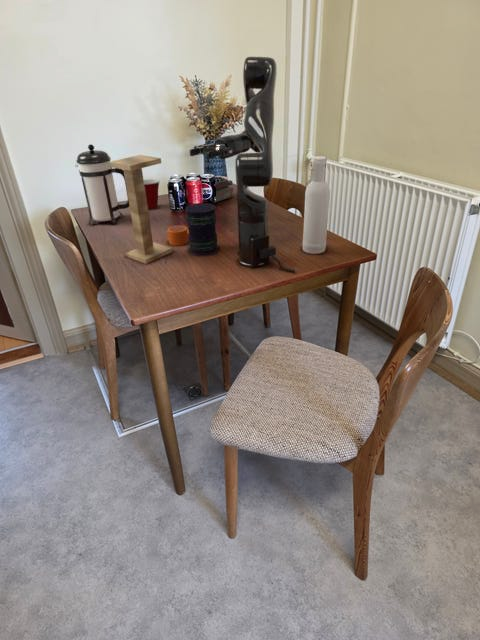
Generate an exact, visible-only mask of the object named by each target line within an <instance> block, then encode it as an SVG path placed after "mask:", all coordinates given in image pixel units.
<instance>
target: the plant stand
mask: <svg viewBox="0 0 480 640" xmlns="http://www.w3.org/2000/svg"><path fill="white" fill-rule="evenodd" d="M160 164H162V158H161V157H156V156H150V155H149V156H148V155H143V154H137V155H133V156H129V157H124V158H119V159H116V160H110V162H109V165H110V167H112V169H113V168H118V169H122V170H123V171H124V177H125V180H124V184H125V183H126V185H125V189H126V188H127V191H126V195H127V194H128V197H127V201H128V200H129V211H130V217H131V221H132V227H133V234H134V239H135V245H136V248H135V249H132V250H130V251H126V252H125V255H126V258H129V259H132V260H135V261H137V262H140V263H143V264H144V265H145V264H146V265H147V264H149V263H151V262H154V261H155V260H158V259H160V258H162V257H164V256H165V257H166V256H167V255H169V254H171V253H173V248H172V247H170V246H167V245H164V244H161V243H158V242H154V241H153V234H152V228H151V227H152V226H151V221H150V214H149V209H148V206H147V200H146V193H145V187H144V180H145V179H144V174H143V173H144V172H143V169H144V168H149V167H153V166H156V165H160ZM124 177H123V178H124Z"/></svg>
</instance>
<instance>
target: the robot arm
mask: <svg viewBox="0 0 480 640" xmlns="http://www.w3.org/2000/svg"><path fill="white" fill-rule="evenodd" d="M276 62H277V61H276V60H275V59H274V58H273V57H269V56H247V57H245V59H244V62H243V65H242V66H243V68H242V84H243V85H242V86H243V93H244V100H245V108H244V116H243V117H244V118H243V128H244V130H243V131H241V132H240V133H238V134H237V133H236V134H230V135H225V136H220V137H218V138H216V139H215V141H214V143H209V144H206V143H203V144H199V145H194V146H193V148H191V149H189V156H190V157H194V156H199V155H203V156H206V157H207V159H214V158H218V159H221V160H225V159H229V158H233V157H235V162H234V173H235V174H234V175H235V185H236V201H237V203H236V204H237V207H236V208H237V233H238V236H237V237H238V251H237V256H238V262H239V263H240V264H241V265H243V266H246V267H251V268H252V269H253V268H254V269H255V268H257V267H261V266H264V265H268V264H270V258H272V259H273V260H274V261H275V262H276V263H277V264H278V266H279V268H280V269H281V270H283V271H285V272H292V273H295V272H296V270H295V269H292V268H286V267H284V266H283V265H282V263H281V261H280V260H279V259H278V258H277V257H276V255H277V254H276V253H277V252H276V251H277V250H276V249H277V248H276V246H274V245H270V235H269V233H268V231H269V228H268V227H269V219H268V218H269V203H268V199H267V198H266V197H265V196H263V195H260V194H257V193H256V192H253V191H252V190H250V189H249V188H250V187H252V188H255V187H259V188H261V187H268V186H270V184H272V180H273V176H274V157H273V154H274V153H273V135H274V124H275V91H276V85H277V75H278V74H277V73H278V71H277V69H278V68H277V63H276ZM254 89H255V90H259V91H258V92H257V93H256V92H255V90H254ZM250 149H251V150H252V151H253V152H248V151H250Z"/></svg>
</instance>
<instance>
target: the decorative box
mask: <svg viewBox="0 0 480 640" xmlns="http://www.w3.org/2000/svg"><path fill="white" fill-rule="evenodd" d="M214 176H215V178H216V179H217V178H220V179H221V181H220V182H219V180H218V179H217V182H215V184H214V186H215V187H216V201H215V202H213V201H212V202H211V203H213V204H215V203H217V202H221V201H223V200H226V199H229V198H232V195H233V192H234V187H232V186H233V183H234V182H233V180H230V179H229V178H228V177H227V176H225V175H224V176H223V175H214ZM204 195H207V193H206V191H205V193H204Z"/></svg>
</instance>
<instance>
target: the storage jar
mask: <svg viewBox="0 0 480 640" xmlns="http://www.w3.org/2000/svg"><path fill="white" fill-rule="evenodd" d="M185 219H186V225H187V230H189V236H188V239H189V240H188V246H189V252H190V253H191V254H192V255H194V256H210V255H213V254H215V253H216V252H217V251H218V234H217V231H216V230H217V229H216V224H217V216H216V206H215V205H214V204H213V203H209V202H199V203H198V202H197V203H192V204H189V205H187V206H186V207H185Z"/></svg>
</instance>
